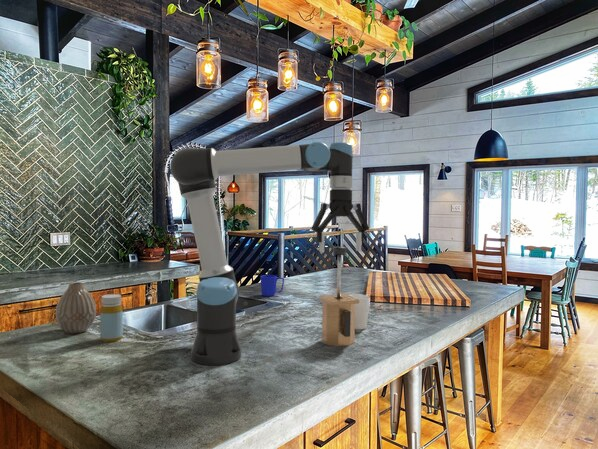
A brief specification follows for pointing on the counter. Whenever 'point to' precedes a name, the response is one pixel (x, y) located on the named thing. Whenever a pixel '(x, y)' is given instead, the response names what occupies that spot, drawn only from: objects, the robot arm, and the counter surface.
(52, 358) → the counter surface
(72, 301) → the vase
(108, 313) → the bottle
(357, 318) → the cup
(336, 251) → the plunger
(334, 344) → the block
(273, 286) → the mug
